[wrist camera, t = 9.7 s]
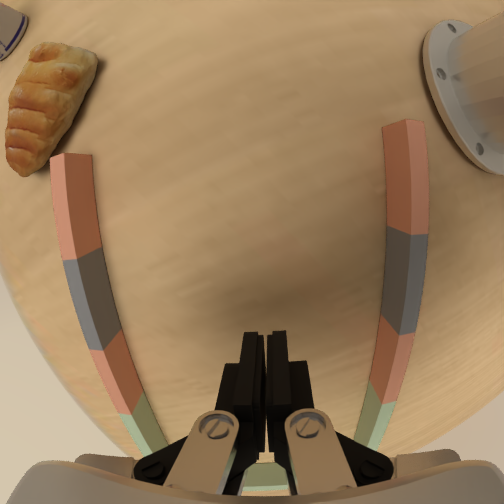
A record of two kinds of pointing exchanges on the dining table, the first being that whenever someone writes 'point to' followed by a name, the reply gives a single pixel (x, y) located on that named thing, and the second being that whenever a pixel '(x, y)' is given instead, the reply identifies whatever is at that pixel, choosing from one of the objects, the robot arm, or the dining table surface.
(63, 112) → the pastry
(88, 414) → the dining table surface
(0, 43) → the energy drink
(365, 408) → the striped u-shaped rail
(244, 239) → the dining table surface
